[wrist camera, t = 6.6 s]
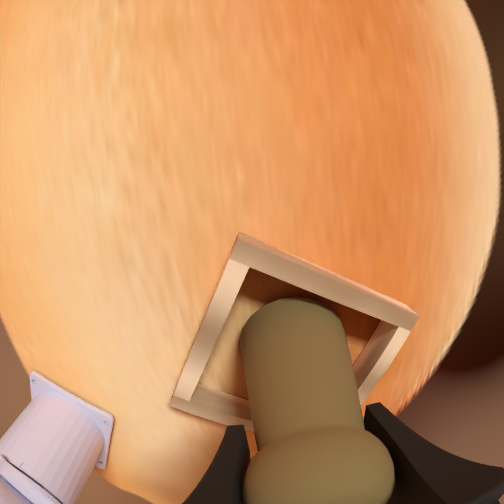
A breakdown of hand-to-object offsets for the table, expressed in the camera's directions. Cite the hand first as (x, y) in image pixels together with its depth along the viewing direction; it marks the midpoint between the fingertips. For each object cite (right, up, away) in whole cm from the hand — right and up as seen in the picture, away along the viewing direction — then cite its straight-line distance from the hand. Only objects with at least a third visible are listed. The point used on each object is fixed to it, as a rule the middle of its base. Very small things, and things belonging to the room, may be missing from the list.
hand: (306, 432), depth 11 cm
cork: (0, +2, +6) cm, 6 cm away
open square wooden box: (0, +2, +7) cm, 7 cm away
